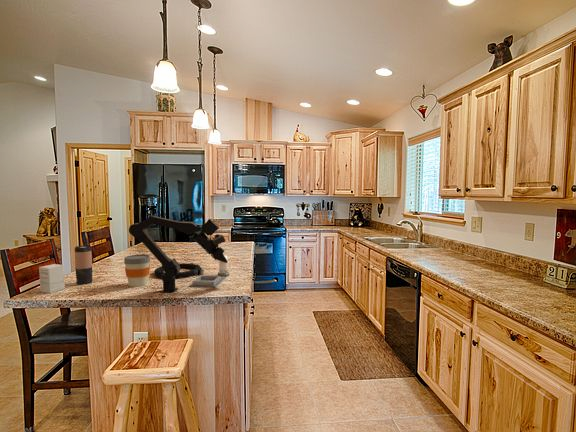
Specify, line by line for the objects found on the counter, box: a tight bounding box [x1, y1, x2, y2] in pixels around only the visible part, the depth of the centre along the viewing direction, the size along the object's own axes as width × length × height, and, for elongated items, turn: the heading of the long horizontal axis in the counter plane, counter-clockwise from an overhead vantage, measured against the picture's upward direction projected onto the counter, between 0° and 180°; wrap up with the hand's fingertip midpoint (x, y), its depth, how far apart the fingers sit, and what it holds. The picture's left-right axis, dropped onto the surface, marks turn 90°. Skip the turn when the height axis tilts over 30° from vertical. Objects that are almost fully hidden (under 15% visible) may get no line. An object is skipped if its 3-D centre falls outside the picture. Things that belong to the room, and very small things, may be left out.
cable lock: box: [153, 262, 205, 279], centre depth 192 cm, size 28×4×30 cm
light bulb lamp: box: [217, 254, 230, 277], centre depth 164 cm, size 6×6×10 cm
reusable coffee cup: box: [123, 254, 151, 288], centre depth 168 cm, size 12×13×15 cm
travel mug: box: [74, 244, 93, 286], centre depth 169 cm, size 8×8×20 cm
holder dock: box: [189, 274, 228, 288], centre depth 175 cm, size 22×14×3 cm, turn 174°
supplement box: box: [38, 263, 66, 294], centre depth 156 cm, size 7×7×13 cm
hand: (226, 261), depth 164 cm, fingers closed on light bulb lamp, 4 cm apart
